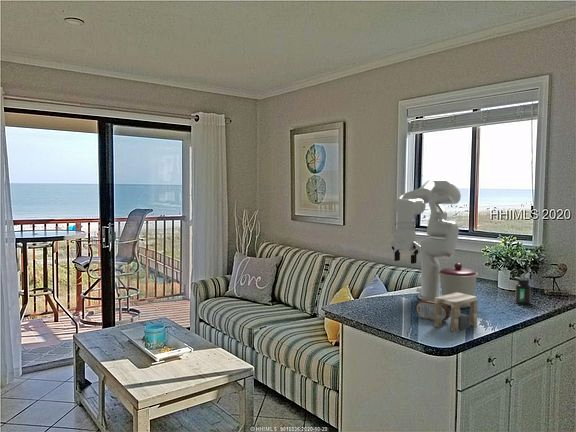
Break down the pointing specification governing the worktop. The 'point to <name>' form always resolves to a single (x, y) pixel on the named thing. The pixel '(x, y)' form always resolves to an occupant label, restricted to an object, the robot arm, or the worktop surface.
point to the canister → (458, 281)
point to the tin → (431, 310)
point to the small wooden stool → (456, 310)
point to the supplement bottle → (523, 292)
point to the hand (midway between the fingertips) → (405, 262)
